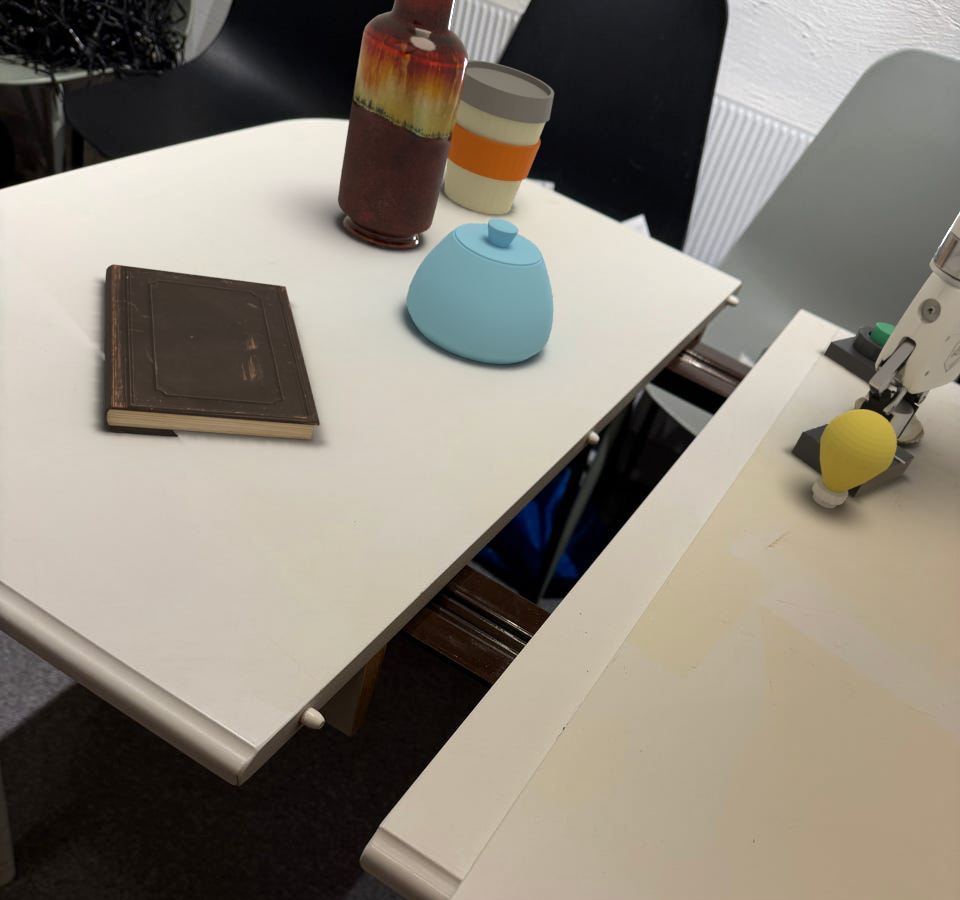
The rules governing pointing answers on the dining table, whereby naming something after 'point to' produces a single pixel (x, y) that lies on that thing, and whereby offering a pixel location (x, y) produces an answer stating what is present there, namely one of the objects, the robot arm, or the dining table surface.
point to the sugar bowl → (484, 294)
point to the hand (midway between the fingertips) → (872, 435)
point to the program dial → (901, 415)
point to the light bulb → (852, 454)
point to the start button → (882, 333)
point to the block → (857, 354)
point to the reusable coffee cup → (495, 136)
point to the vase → (401, 122)
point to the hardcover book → (202, 356)
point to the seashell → (911, 432)
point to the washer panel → (810, 454)
